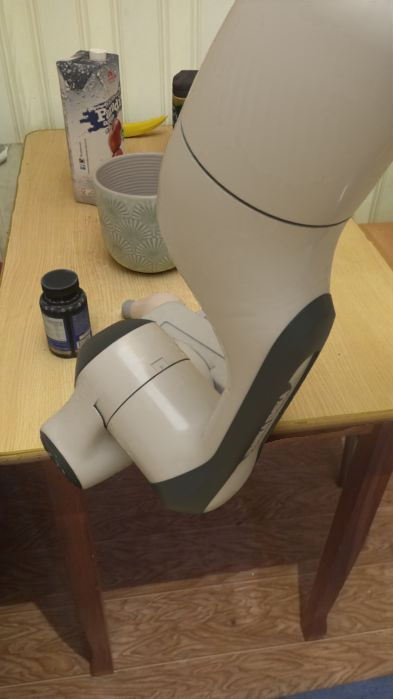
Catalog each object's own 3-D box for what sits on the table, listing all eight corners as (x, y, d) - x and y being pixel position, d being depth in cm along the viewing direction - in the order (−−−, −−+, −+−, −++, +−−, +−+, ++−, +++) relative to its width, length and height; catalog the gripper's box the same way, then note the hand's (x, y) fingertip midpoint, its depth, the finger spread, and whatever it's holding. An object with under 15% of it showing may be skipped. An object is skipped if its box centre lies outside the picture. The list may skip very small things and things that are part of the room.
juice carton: (69, 203, 111) (48, 52, 93) (93, 182, 118) (78, 39, 101) (110, 211, 108) (96, 58, 91) (132, 189, 116) (123, 44, 98)
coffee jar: (172, 152, 131) (171, 66, 119) (206, 152, 132) (208, 66, 120) (173, 169, 124) (172, 79, 112) (208, 169, 124) (211, 79, 112)
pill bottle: (87, 327, 81) (78, 261, 74) (98, 353, 77) (89, 286, 70) (44, 337, 79) (30, 270, 72) (53, 364, 75) (39, 296, 68)
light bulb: (105, 293, 79) (164, 301, 73) (136, 281, 84) (194, 287, 78) (111, 336, 82) (169, 348, 75) (142, 322, 86) (199, 332, 80)
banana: (168, 138, 138) (168, 111, 134) (90, 140, 136) (88, 113, 132) (167, 134, 140) (167, 107, 136) (91, 135, 139) (88, 109, 135)
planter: (127, 227, 104) (121, 145, 94) (213, 244, 100) (217, 160, 90) (82, 274, 92) (70, 185, 82) (179, 295, 87) (178, 205, 78)
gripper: (250, 410, 55) (331, 346, 62) (116, 319, 65) (199, 274, 73) (245, 452, 59) (321, 387, 66) (120, 359, 70) (198, 312, 77)
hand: (256, 327), depth 70 cm, fingers open, 8 cm apart
